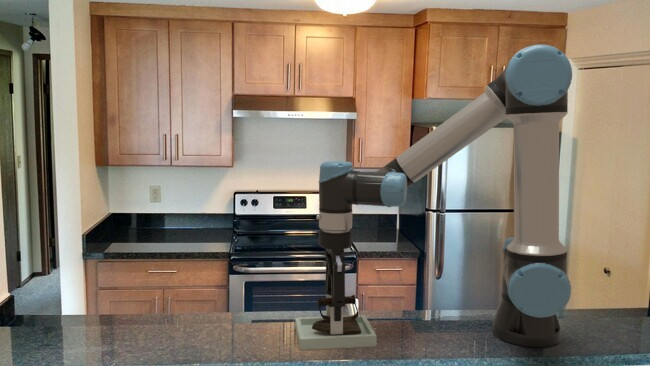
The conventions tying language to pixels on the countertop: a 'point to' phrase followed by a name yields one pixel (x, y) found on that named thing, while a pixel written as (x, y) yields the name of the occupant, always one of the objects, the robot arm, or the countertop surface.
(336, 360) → the countertop surface
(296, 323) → the iron rest
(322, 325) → the clothes iron
